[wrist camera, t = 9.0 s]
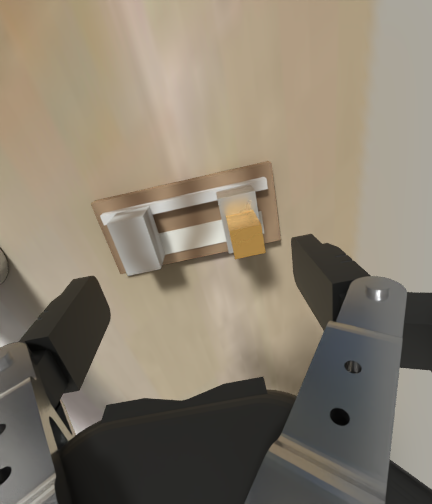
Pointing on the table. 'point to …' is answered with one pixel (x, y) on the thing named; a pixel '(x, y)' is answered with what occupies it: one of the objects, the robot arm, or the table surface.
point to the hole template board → (180, 218)
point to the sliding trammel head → (241, 221)
